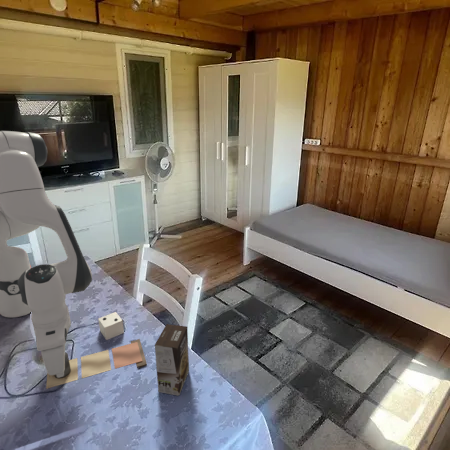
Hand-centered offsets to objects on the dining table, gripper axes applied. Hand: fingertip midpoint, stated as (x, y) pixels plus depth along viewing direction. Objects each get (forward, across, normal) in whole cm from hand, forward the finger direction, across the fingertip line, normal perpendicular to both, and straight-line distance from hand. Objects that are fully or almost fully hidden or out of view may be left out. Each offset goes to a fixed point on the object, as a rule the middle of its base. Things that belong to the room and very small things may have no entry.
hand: (61, 363), depth 93 cm
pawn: (+3, 0, 0) cm, 3 cm away
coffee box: (+5, +15, +29) cm, 33 cm away
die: (+4, -13, +15) cm, 20 cm away
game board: (+4, 0, +9) cm, 10 cm away
